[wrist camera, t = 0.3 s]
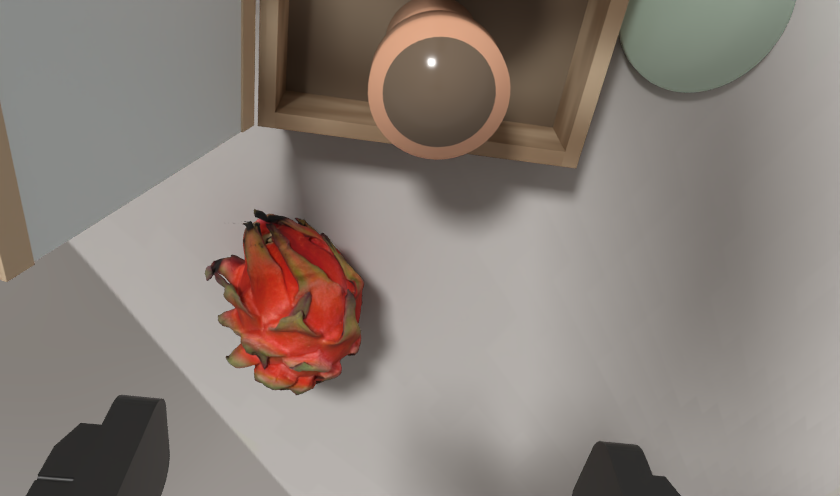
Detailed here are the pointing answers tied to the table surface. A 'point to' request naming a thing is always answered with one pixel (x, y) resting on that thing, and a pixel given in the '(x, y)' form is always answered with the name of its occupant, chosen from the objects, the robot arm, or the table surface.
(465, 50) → the terracotta pot
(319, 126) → the box
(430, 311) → the table surface
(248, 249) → the dragon fruit
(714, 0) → the saucer
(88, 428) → the robot arm
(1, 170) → the lid
